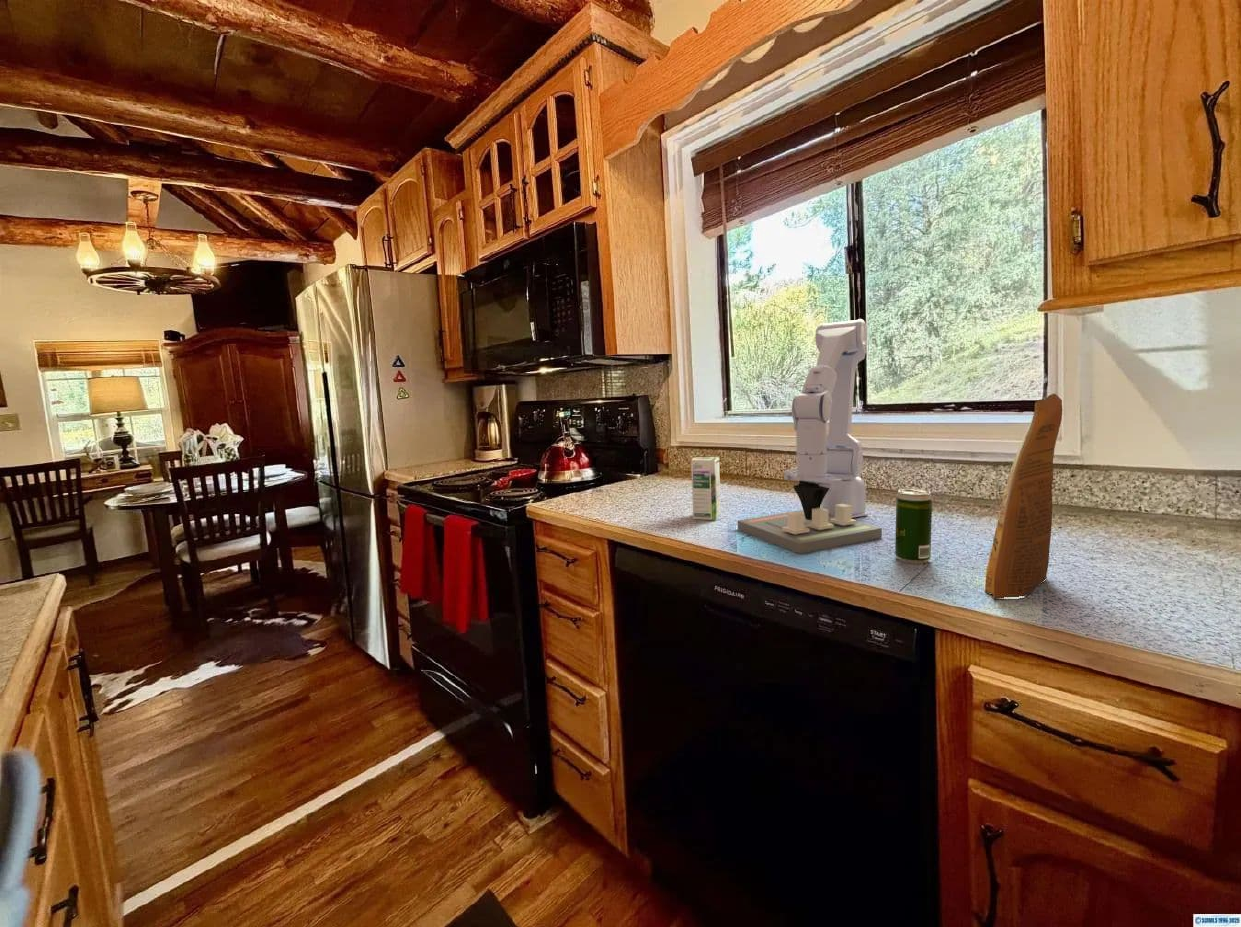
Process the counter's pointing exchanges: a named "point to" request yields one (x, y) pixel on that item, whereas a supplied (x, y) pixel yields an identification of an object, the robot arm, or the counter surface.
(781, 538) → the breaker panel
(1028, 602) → the counter surface
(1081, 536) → the counter surface
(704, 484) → the syrup box
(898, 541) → the beer can
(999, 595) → the pancake mix bag
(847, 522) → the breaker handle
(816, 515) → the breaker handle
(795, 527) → the breaker handle
